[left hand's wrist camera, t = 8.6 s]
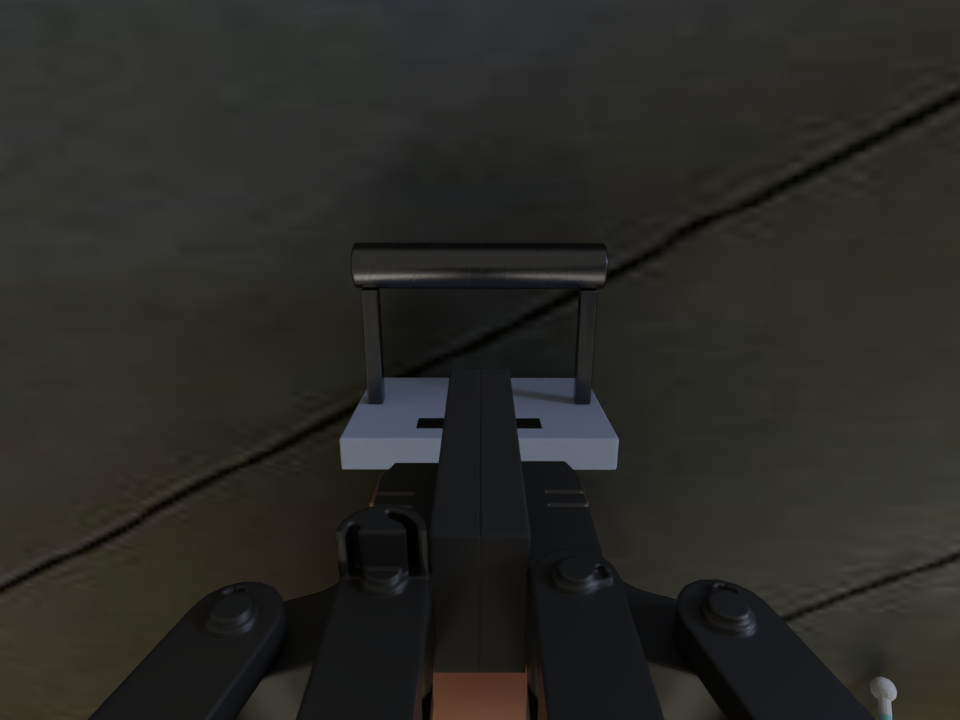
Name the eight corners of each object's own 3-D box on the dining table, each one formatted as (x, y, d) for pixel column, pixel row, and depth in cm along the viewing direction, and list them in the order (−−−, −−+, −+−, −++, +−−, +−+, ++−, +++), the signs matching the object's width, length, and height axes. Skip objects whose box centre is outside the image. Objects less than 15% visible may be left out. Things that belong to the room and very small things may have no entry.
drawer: (364, 235, 23) (324, 253, 17) (594, 235, 23) (634, 254, 17) (387, 650, 30) (363, 769, 24) (569, 650, 30) (592, 769, 24)
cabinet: (371, 519, 29) (331, 647, 21) (585, 519, 29) (626, 648, 21) (386, 762, 33) (358, 941, 25) (569, 762, 33) (597, 941, 25)
